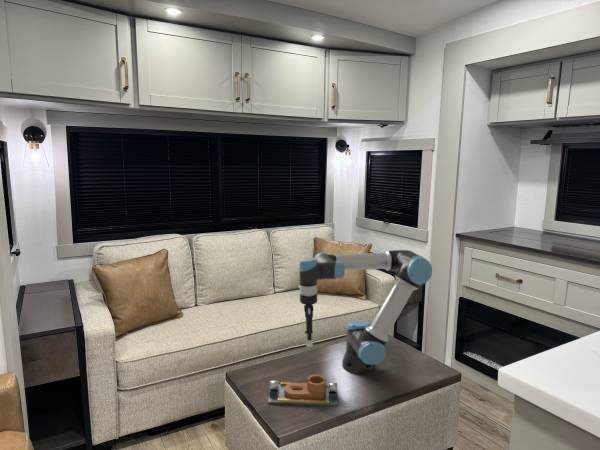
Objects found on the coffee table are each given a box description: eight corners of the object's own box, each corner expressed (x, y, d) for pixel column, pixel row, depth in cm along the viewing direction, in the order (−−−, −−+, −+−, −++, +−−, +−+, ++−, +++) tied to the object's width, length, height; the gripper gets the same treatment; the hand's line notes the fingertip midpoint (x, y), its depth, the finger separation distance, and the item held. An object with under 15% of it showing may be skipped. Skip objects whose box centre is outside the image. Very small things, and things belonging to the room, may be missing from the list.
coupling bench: (336, 388, 183) (336, 375, 182) (337, 406, 170) (337, 392, 169) (271, 386, 184) (271, 373, 183) (268, 403, 171) (268, 389, 170)
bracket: (325, 388, 181) (325, 374, 180) (326, 400, 173) (326, 385, 171) (284, 388, 180) (284, 374, 179) (284, 399, 172) (284, 384, 171)
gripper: (299, 284, 189) (300, 327, 193) (300, 304, 164) (300, 352, 168) (315, 284, 189) (316, 327, 193) (318, 303, 164) (319, 352, 168)
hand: (309, 339), depth 180 cm, fingers open, 13 cm apart
